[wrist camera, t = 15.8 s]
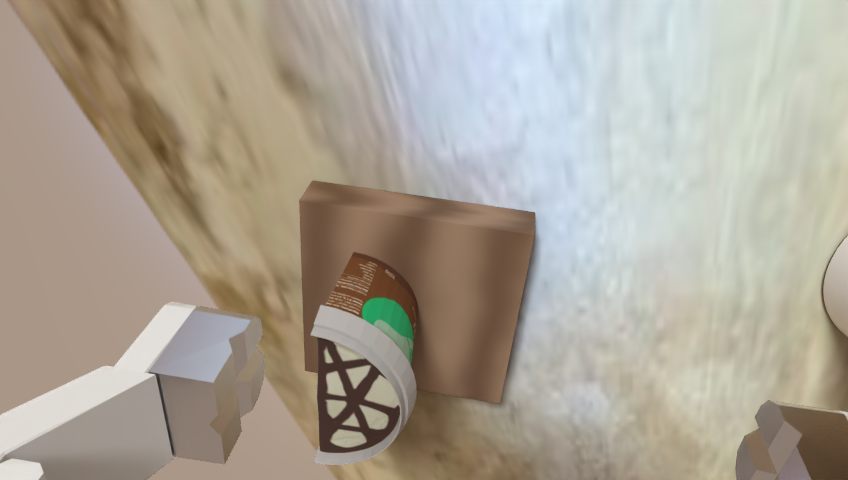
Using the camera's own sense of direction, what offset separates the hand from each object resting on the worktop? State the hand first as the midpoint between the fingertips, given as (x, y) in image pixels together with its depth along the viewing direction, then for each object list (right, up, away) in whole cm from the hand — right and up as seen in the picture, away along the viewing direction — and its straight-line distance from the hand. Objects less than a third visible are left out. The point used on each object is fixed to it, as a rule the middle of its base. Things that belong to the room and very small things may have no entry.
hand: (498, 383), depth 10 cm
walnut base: (-2, -1, +38) cm, 38 cm away
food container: (-4, -3, +36) cm, 36 cm away
